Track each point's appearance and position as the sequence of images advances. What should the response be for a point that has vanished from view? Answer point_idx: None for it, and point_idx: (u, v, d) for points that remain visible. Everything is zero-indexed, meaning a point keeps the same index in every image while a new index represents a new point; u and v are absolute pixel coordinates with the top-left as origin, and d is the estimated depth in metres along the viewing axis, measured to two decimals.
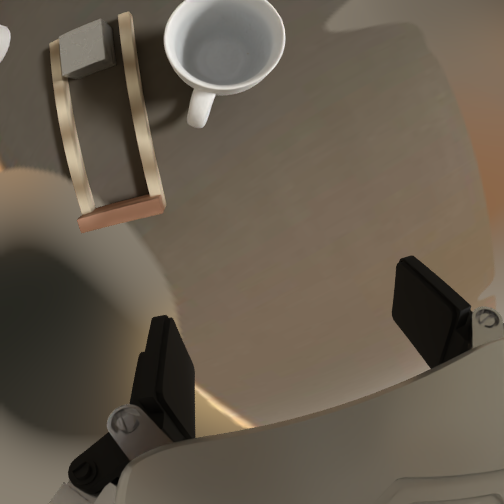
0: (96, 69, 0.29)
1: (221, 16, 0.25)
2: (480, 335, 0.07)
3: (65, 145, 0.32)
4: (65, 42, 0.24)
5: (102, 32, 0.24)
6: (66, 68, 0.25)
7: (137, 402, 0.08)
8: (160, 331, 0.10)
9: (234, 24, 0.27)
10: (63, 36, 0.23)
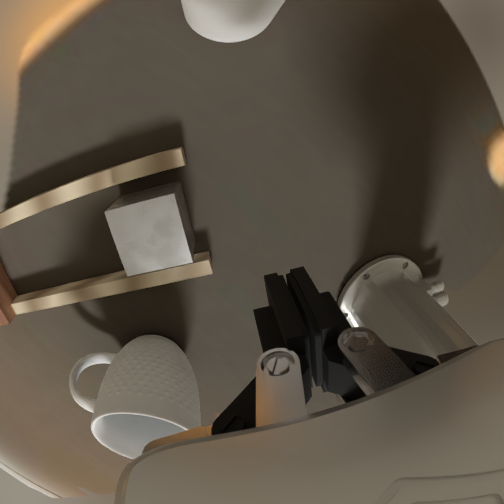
0: None
1: None
2: (364, 363, 0.07)
3: (31, 202, 0.23)
4: (159, 208, 0.22)
5: (169, 266, 0.25)
6: (115, 217, 0.22)
7: None
8: (279, 285, 0.11)
9: None
10: (172, 202, 0.22)
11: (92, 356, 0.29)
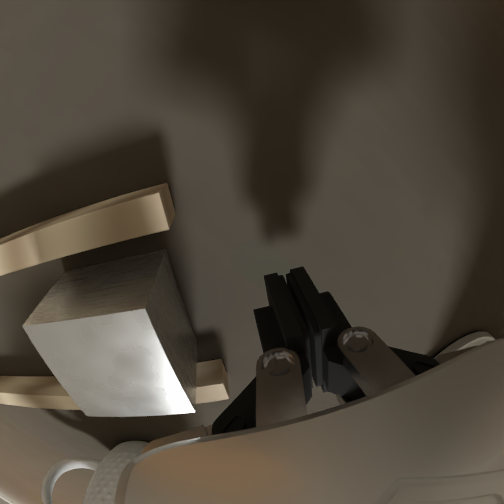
0: None
1: None
2: (364, 363, 0.07)
3: None
4: (119, 334, 0.10)
5: (153, 412, 0.12)
6: (42, 338, 0.09)
7: None
8: (279, 285, 0.11)
9: None
10: (143, 325, 0.10)
11: (67, 463, 0.17)
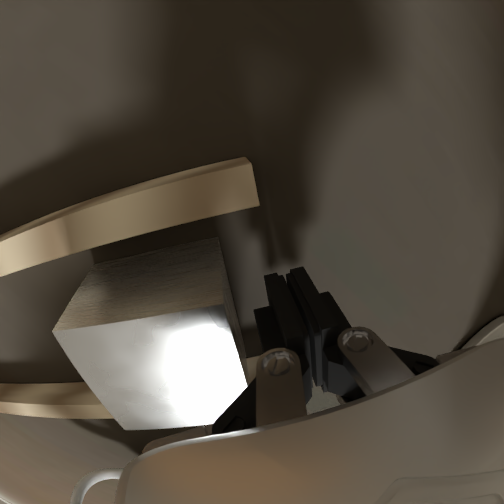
0: None
1: None
2: (364, 363, 0.07)
3: None
4: (184, 336, 0.09)
5: (206, 420, 0.11)
6: (78, 345, 0.08)
7: None
8: (279, 285, 0.11)
9: None
10: (217, 323, 0.09)
11: (96, 475, 0.16)
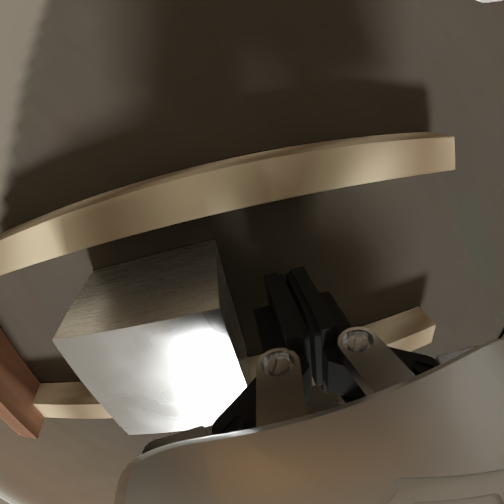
0: None
1: None
2: (364, 363, 0.07)
3: (70, 220, 0.09)
4: (182, 341, 0.09)
5: (209, 423, 0.11)
6: (78, 353, 0.08)
7: None
8: (279, 285, 0.11)
9: None
10: (214, 328, 0.09)
11: None
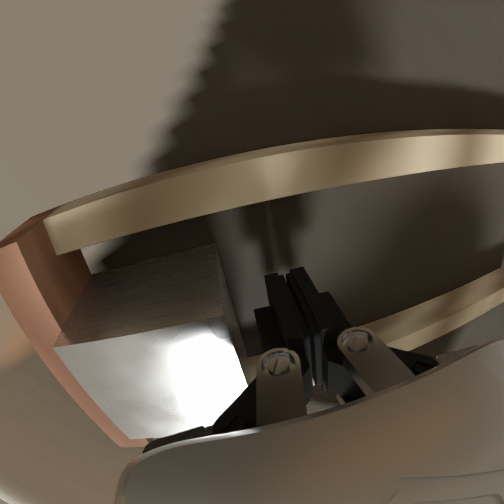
0: None
1: None
2: (364, 363, 0.07)
3: (315, 155, 0.10)
4: (185, 348, 0.08)
5: None
6: (79, 360, 0.08)
7: None
8: (280, 285, 0.11)
9: None
10: (217, 335, 0.08)
11: None
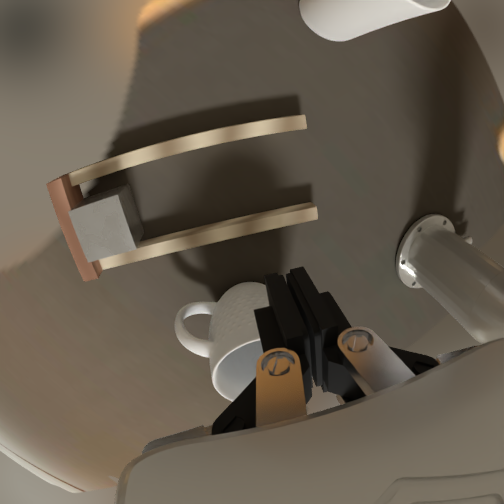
0: None
1: None
2: (364, 363, 0.07)
3: (153, 148, 0.28)
4: (108, 207, 0.27)
5: (119, 253, 0.29)
6: (76, 215, 0.26)
7: None
8: (279, 285, 0.11)
9: None
10: (116, 201, 0.27)
11: (192, 305, 0.35)
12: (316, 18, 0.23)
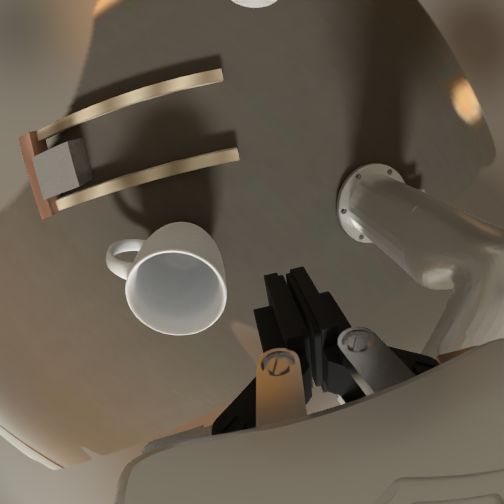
0: None
1: None
2: (364, 363, 0.07)
3: (98, 105, 0.30)
4: (60, 151, 0.29)
5: (67, 190, 0.32)
6: (37, 160, 0.29)
7: None
8: (279, 285, 0.11)
9: None
10: (66, 147, 0.29)
11: (128, 241, 0.37)
12: None
